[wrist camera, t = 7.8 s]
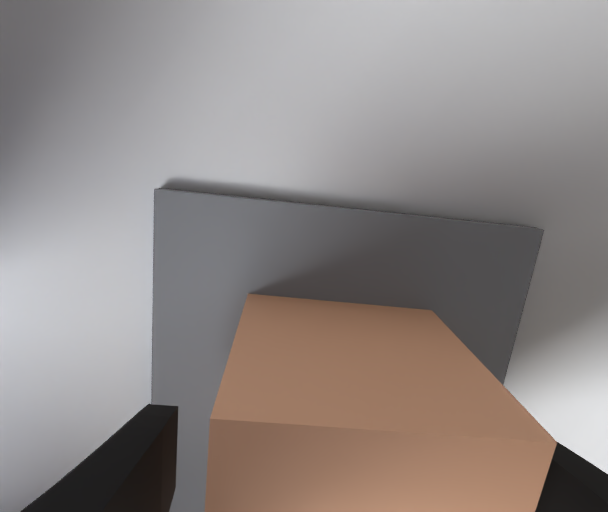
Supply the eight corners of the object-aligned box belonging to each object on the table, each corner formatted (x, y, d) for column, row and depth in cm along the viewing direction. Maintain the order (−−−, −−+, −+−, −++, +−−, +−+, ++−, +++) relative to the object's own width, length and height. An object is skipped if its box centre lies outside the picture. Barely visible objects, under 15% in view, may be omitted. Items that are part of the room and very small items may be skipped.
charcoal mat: (154, 504, 12) (150, 516, 12) (159, 188, 10) (154, 189, 9) (458, 520, 13) (463, 532, 12) (534, 227, 10) (543, 230, 10)
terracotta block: (235, 452, 11) (194, 674, 6) (247, 293, 10) (209, 418, 5) (400, 462, 12) (480, 681, 7) (431, 310, 10) (557, 442, 6)
